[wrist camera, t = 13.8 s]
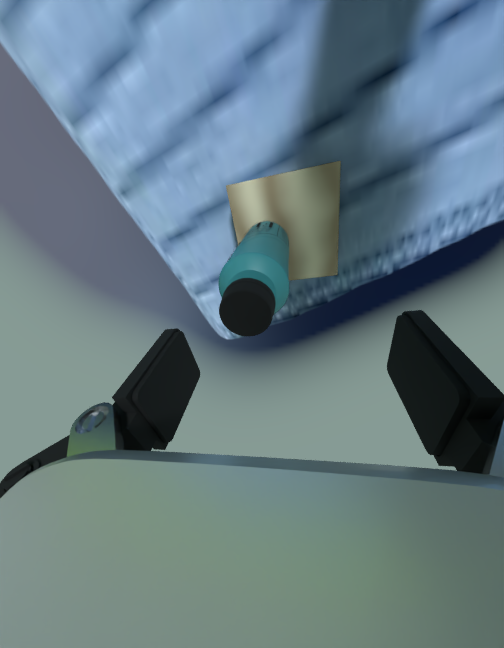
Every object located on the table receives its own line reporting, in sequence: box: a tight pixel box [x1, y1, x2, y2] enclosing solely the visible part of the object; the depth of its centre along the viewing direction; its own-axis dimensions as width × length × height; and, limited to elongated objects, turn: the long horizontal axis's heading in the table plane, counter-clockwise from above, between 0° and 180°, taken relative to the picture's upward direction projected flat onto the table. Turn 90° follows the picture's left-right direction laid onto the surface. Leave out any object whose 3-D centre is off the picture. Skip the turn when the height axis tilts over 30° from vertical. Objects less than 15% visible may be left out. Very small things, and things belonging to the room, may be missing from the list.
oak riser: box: [226, 161, 341, 280], centre depth 33 cm, size 14×14×5 cm
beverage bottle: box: [219, 220, 289, 336], centre depth 24 cm, size 6×7×20 cm
